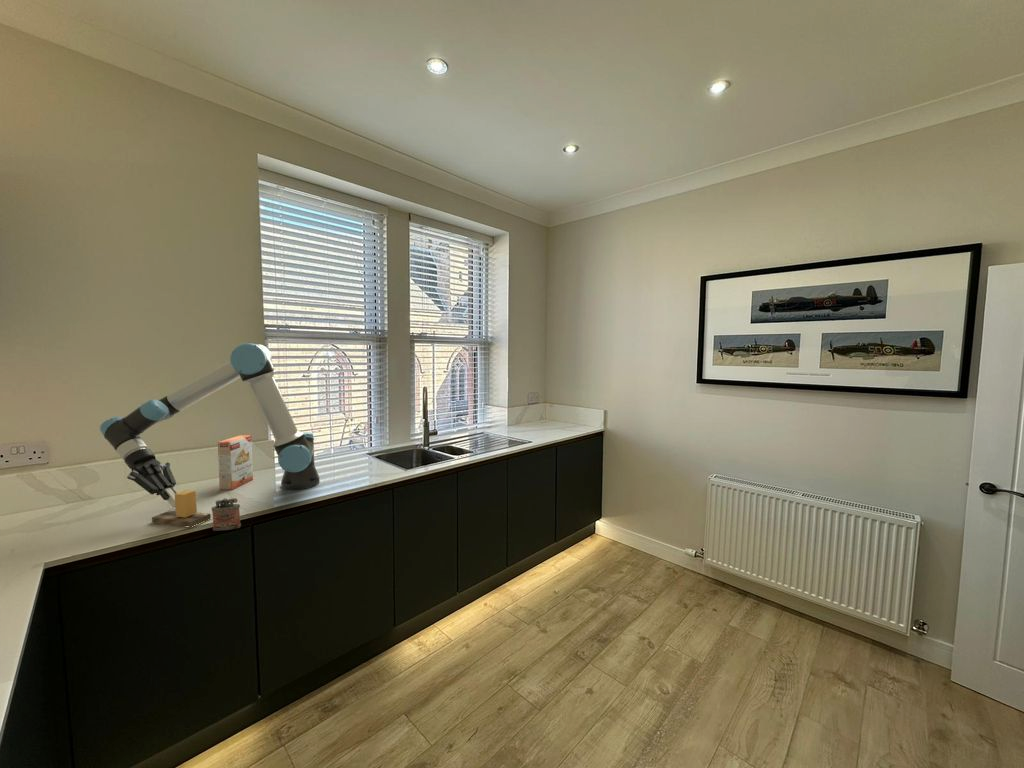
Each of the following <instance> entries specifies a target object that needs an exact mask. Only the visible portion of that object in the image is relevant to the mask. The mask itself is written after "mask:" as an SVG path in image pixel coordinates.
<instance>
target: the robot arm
mask: <svg viewBox="0 0 1024 768" xmlns="http://www.w3.org/2000/svg"><path fill="white" fill-rule="evenodd" d="M272 360H273V358H272V353H271V351H270V350H269V349H268V347H267V346H265V345H263V344H261V343H257V342H245V343H241V344H239V345H237V346H236V347H235V348H234V349H233V350H232V352H231V353H230V356H229V361H227V362H225V363H224V364H222V365H221V366H219V367H217V368H214V369H213V370H211V371H210V372H207V373H205V374H204V375H202V376H200V377H199V378H197V379H195V380H193V381H191V382H189V383H188V384H185V385H184V386H182V387H180V388H179V389H177V390H175V391H173V392H172V393H170V394H168V395H166V396H164V397H162V398H160V399H156V398H151V399H149V400H148V401H146V402H144V403H141V405H140V406H138V407H137V408H136V409H134V410H132V412H130V413H129V414H127V416H125V417H123V416H114V417H110V418H109V419H106V420H104V421H103V422H102V423H101V424H100V426H99V431H100V432H101V434H102V436H103V437H104V439H105V440H106V441H107V442H108V443H109V444H110V445H111V446H112V448H113V449H114V450H115V452H116V454H118V456H119V457H120V458H121V460H123V462H124V463H125V464H126V466H127V467H128V468H129V469H130V470H131V471H130V473H129V474H128V475H127V476H126V478H127V479H128V480H131V481H133V482H135V483H136V484H137V485H138V486H140V487H141V488H142V489H144V490H145V491H146V492H147V493H149V494H150V495H154V494H156V496H160V497H161V498H162V499H163V500H164V501H167V502H168V504H169V505H170V506H171V507H172V508H174V509H175V508H176V506H175V494H176V493H177V491H176V490H175V489H174V487H175V486H176V484H177V481H176V478H175V476H174V475H173V472H172V470H171V468H170V467H171V463H170V462H169V461H167V462H166V463H161V461H160V460H158V459H156V454H154V453H153V452H152V450H151V449H150V448H149V446H148V445H147V444H146V443H145V442H144V441H143V439H142V438H141V437H140V435H141V434H143V433H144V432H146V431H147V430H148V429H149V428H151V427H153V426H154V425H156V424H157V423H160V422H163V421H166V420H169V419H170V418H172V417H174V416H175V415H177V414H179V413H180V412H181V411H183V410H185V409H187V408H189V407H190V406H193V405H194V404H197V403H198V402H199V401H201V400H203V399H205V398H206V397H208V396H211V394H213V393H216V392H217V391H219V390H221V389H223V388H225V387H226V386H228V385H229V384H232V383H233V382H236V381H237V380H239V379H240V378H241V380H242V382H243V383H245V384H248V385H249V388H250V390H251V391H252V393H253V396H254V398H255V399H256V400H255V401H256V402H257V404H258V406H259V408H260V411H261V412H262V415H263V417H264V419H265V421H266V423H267V425H268V427H269V430H270V432H271V433H272V435H273V438H274V443H273V444H272V446H273V448H274V450H275V452H276V454H277V462H278V465H279V467H280V468H281V469H282V470H283V475H282V477H281V482H280V485H281V486H280V487H281V489H284V490H291V491H294V490H305V489H309V488H312V487H314V486H317V485H318V484H320V475H319V472H318V470H317V468H316V466H315V444H314V443H315V442H314V441H315V438H314V434H313V433H312V432H302V431H300V430H298V428H297V427H296V424H295V421H294V419H293V417H292V415H291V413H290V411H289V409H288V407H287V404H286V401H285V400H284V398H283V395H282V393H281V391H280V388H279V386H278V384H277V383H276V380H275V378H274V375H275V373H276V370H275V368H274V366H273V363H272Z"/></svg>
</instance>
